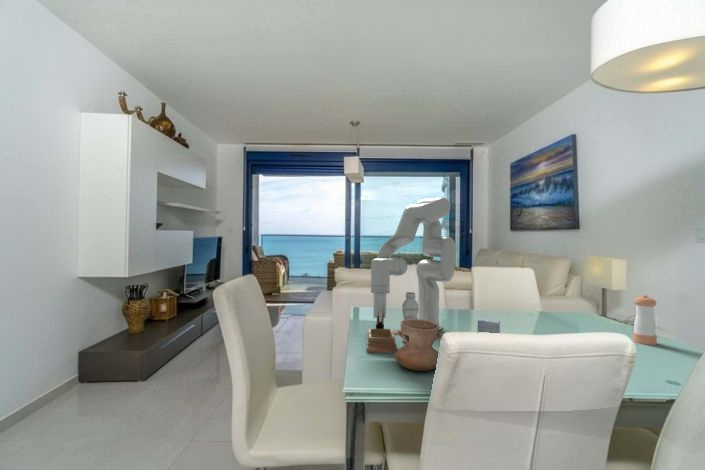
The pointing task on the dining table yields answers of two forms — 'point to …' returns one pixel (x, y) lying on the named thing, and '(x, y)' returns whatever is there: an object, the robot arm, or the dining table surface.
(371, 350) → the wooden tray
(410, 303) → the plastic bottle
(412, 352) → the ceramic jug
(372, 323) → the dining table surface
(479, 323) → the medicine box
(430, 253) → the robot arm
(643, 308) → the pepper shaker
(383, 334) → the box
